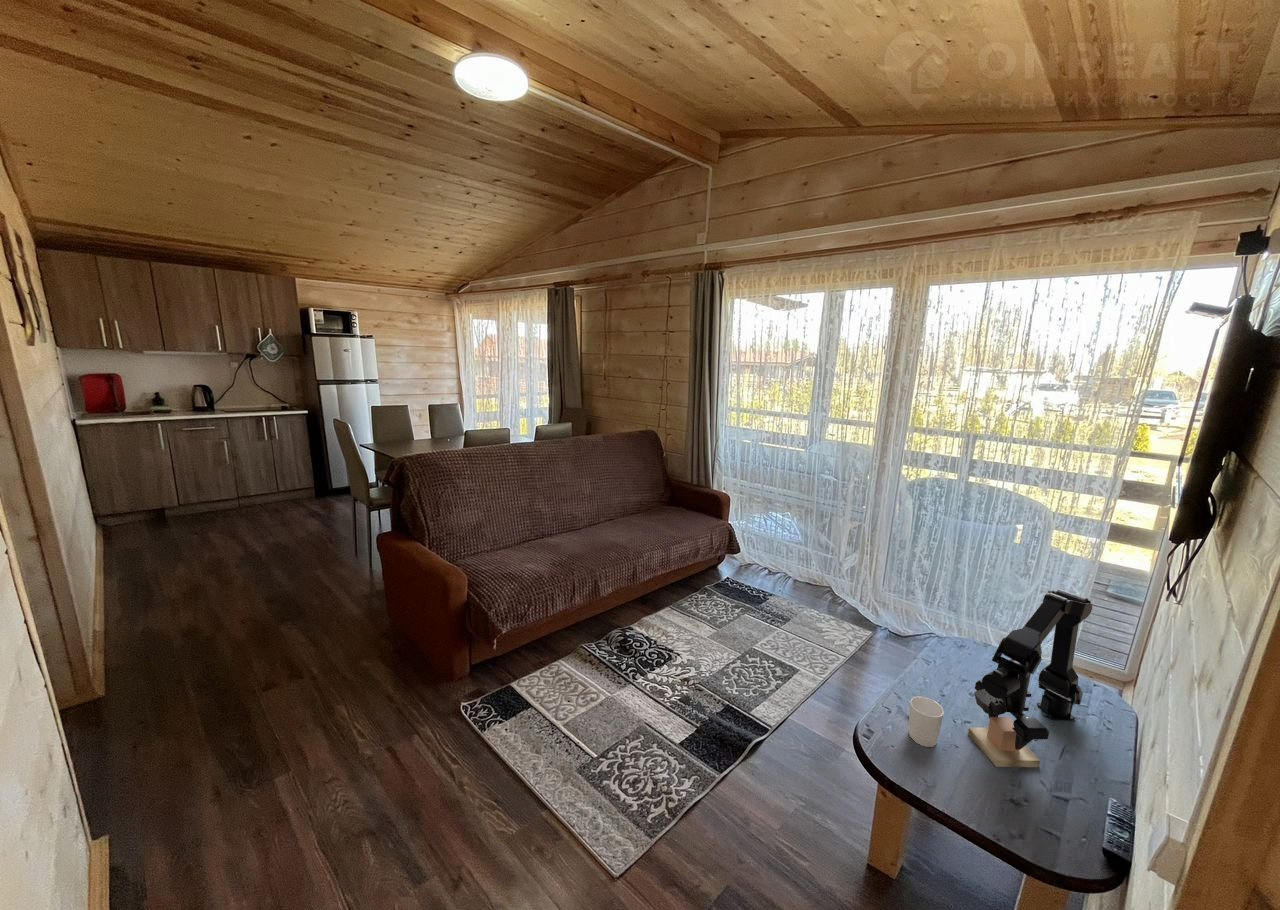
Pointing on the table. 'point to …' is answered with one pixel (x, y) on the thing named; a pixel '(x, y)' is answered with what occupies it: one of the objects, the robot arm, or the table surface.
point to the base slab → (1002, 757)
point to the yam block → (1002, 733)
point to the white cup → (925, 721)
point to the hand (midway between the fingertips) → (1004, 735)
